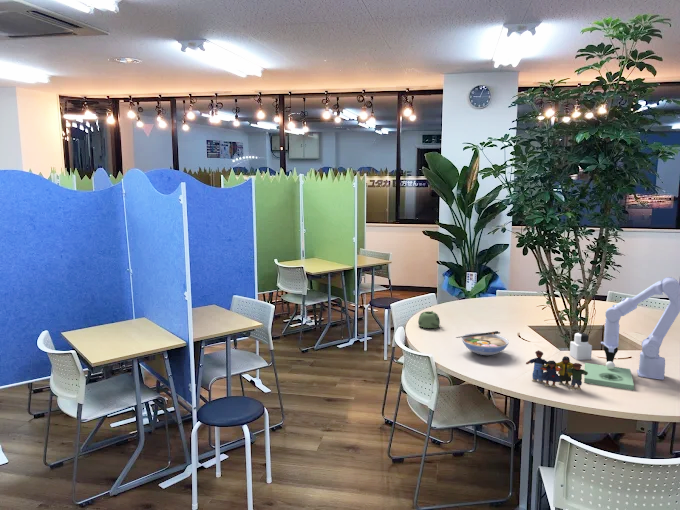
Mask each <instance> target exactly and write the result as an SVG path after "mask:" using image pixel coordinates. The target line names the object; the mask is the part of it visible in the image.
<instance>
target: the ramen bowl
mask: <svg viewBox="0 0 680 510" xmlns="http://www.w3.org/2000/svg"><path fill="white" fill-rule="evenodd" d="M500 334H501V332H500V331H497V330H495V331H488V332H471V333H467V334H466V333H465V334H464V335H462V336H456V338H457V339H458V338H459V339H460V338H461V340H462V343H463V345H464V346H465V347H466V349H468V350H469V351H471V352H472V353H475V354H477V355H479V354H480V355H479V356H482V355H490V356H492V355H498V354H499V353H501V352H502V351H504V350H505V349H506V348H507V347H508V345H509V339H507V338H506V337H504V336H501V335H500Z"/></svg>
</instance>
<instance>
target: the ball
mask: <svg viewBox="0 0 680 510" xmlns="http://www.w3.org/2000/svg"><path fill="white" fill-rule="evenodd" d="M605 366H606V367H607V368H608V369H614V367H616V365H615V363H614V361H613V362H612V361H608V362H607V361H606V362H605Z"/></svg>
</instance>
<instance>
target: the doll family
mask: <svg viewBox="0 0 680 510" xmlns="http://www.w3.org/2000/svg"><path fill="white" fill-rule="evenodd" d="M534 353H535V355H536V357H535V358H531V359H530V360H528V361H527V362H525V364H526V365H529V364H534V366H533V371H532V379H531V381H532V382H534V383H535V382H536V383H537V382H538V383H540V384H544V387H547V388H548V387H550V384H549V383H550V382H552V383H551V387H552V388H554V389H555V388H556V389H557V385H556V383H558V384H559V385H561V386H564V385H565V386H566V387H569V389H570V390H571V391H574V390H577V391H581V390H582V388H581V386H582V385H583V381H582V380H583V378H582V377H583V376H584V375H587V374H588V372H586V371H585V369H582V366H583V365H582V363H578V362H575V363H573V362H570V361H571V359H570V357H569V356H566V355H565V356H563V357H562V358H561V359H562V360H561V361H559V362H556V361H555V360H548V361H547V360H546V359H544V358H542V357H543V355H544V352H543V351H541V350H537V351H535V352H534ZM557 372H558V373H557ZM544 382H545V383H544ZM569 382H570V383H569Z"/></svg>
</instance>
